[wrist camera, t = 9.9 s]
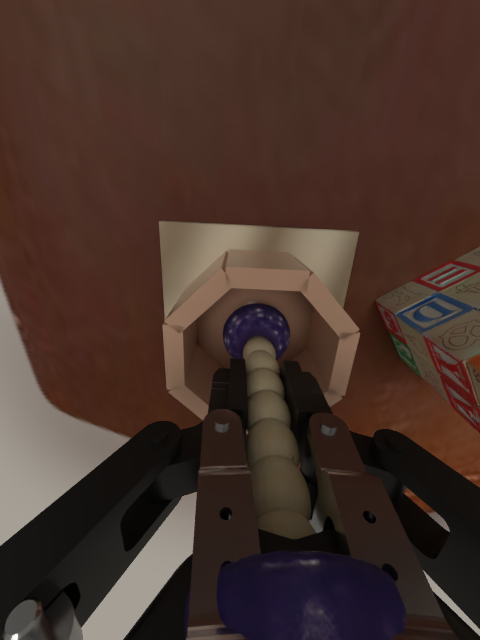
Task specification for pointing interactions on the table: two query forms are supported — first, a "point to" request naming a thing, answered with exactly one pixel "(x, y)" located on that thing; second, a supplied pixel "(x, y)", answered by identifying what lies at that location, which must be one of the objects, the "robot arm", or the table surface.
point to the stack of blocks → (441, 330)
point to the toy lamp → (291, 521)
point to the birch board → (214, 239)
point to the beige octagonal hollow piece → (248, 288)
